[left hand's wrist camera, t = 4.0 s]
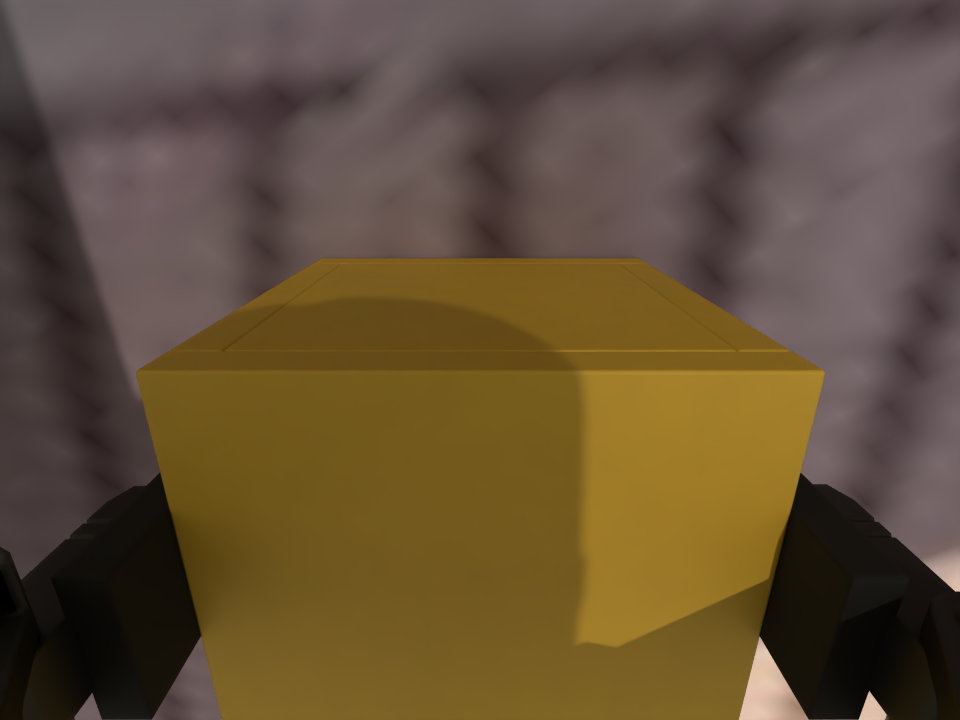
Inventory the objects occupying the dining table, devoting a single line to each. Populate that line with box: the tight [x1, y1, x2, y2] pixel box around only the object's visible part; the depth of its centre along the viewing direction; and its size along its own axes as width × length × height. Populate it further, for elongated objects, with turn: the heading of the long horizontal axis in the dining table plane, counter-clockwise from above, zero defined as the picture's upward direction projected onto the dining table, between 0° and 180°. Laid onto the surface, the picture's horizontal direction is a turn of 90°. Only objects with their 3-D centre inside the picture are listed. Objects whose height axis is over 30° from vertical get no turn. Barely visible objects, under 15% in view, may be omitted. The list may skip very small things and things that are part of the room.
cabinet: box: [136, 258, 825, 720], centre depth 15 cm, size 17×10×10 cm, turn 0°
